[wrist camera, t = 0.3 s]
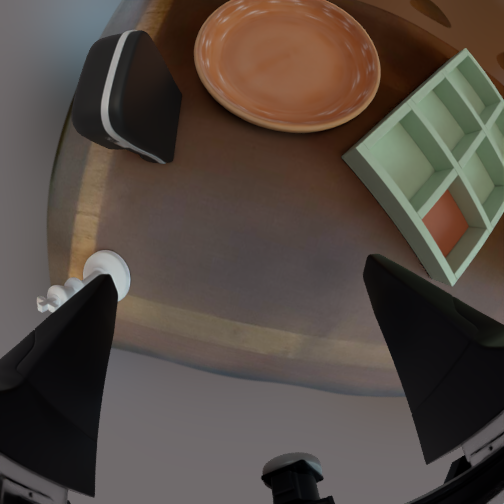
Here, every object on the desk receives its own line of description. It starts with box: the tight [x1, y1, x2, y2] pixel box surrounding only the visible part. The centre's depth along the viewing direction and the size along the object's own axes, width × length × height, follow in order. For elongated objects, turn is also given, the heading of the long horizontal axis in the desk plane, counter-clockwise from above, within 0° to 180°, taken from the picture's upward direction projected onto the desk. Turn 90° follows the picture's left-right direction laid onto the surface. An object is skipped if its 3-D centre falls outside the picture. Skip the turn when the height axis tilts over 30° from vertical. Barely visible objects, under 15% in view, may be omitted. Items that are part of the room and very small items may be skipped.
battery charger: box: [72, 30, 182, 164], centre depth 16 cm, size 7×4×11 cm, turn 176°
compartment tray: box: [341, 48, 504, 286], centre depth 21 cm, size 22×15×4 cm
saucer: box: [194, 0, 381, 133], centre depth 20 cm, size 16×16×3 cm
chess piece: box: [37, 250, 130, 312], centre depth 19 cm, size 5×5×10 cm
